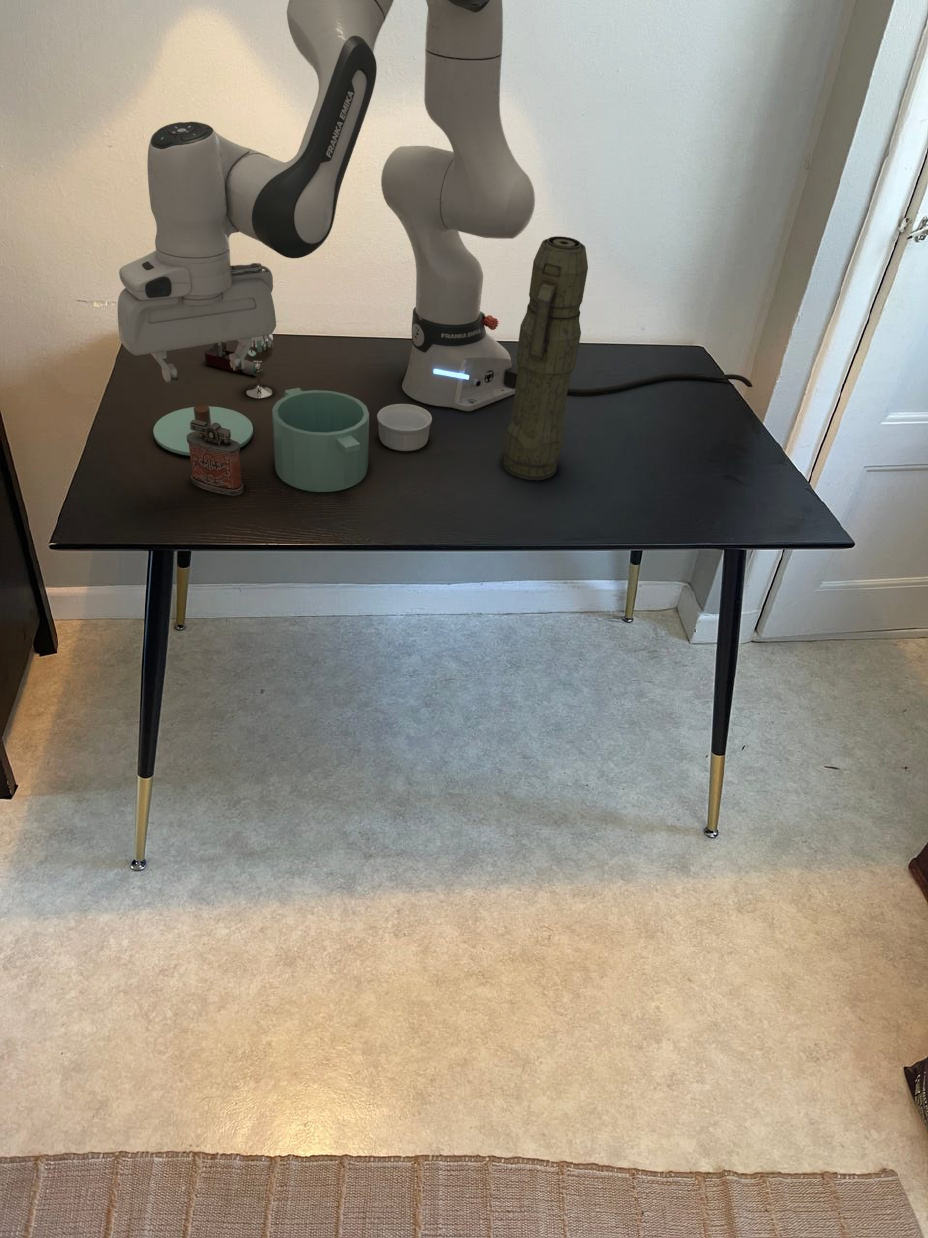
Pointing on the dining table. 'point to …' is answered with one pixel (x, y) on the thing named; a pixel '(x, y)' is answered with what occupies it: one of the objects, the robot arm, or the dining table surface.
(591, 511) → the dining table surface
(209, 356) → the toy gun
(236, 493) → the lighter
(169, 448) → the lid
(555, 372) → the thermos
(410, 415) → the ramekin
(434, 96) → the robot arm
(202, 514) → the dining table surface
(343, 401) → the pot
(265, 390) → the wineglass
